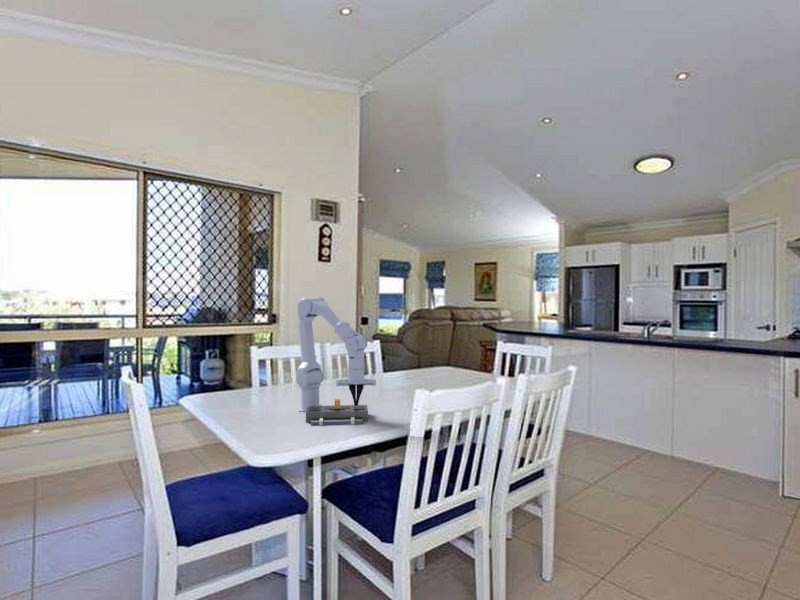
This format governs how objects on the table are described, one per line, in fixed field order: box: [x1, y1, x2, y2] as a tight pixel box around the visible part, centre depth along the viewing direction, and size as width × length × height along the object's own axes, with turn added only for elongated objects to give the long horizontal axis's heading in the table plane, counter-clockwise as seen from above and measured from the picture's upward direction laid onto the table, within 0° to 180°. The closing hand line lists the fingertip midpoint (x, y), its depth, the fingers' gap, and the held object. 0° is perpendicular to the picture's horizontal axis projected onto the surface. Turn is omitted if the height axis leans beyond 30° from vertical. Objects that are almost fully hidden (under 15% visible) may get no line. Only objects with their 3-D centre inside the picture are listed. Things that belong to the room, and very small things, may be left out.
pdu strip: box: [305, 404, 369, 423], centre depth 173 cm, size 9×22×4 cm, turn 96°
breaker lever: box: [334, 398, 341, 409], centre depth 173 cm, size 2×2×3 cm
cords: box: [310, 417, 364, 426], centre depth 167 cm, size 4×18×2 cm, turn 96°
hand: (356, 405), depth 174 cm, fingers closed
